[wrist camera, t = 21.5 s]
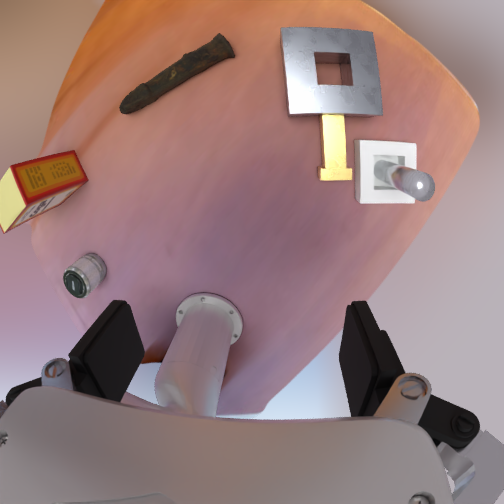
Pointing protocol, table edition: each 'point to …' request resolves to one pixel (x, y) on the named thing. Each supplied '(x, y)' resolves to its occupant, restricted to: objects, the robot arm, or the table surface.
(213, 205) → the table surface
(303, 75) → the socket
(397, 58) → the table surface
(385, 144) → the tray
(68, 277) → the camera lens
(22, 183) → the baking soda box
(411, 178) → the grey cylindrical peg
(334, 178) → the key
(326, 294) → the table surface
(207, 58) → the hand tool
